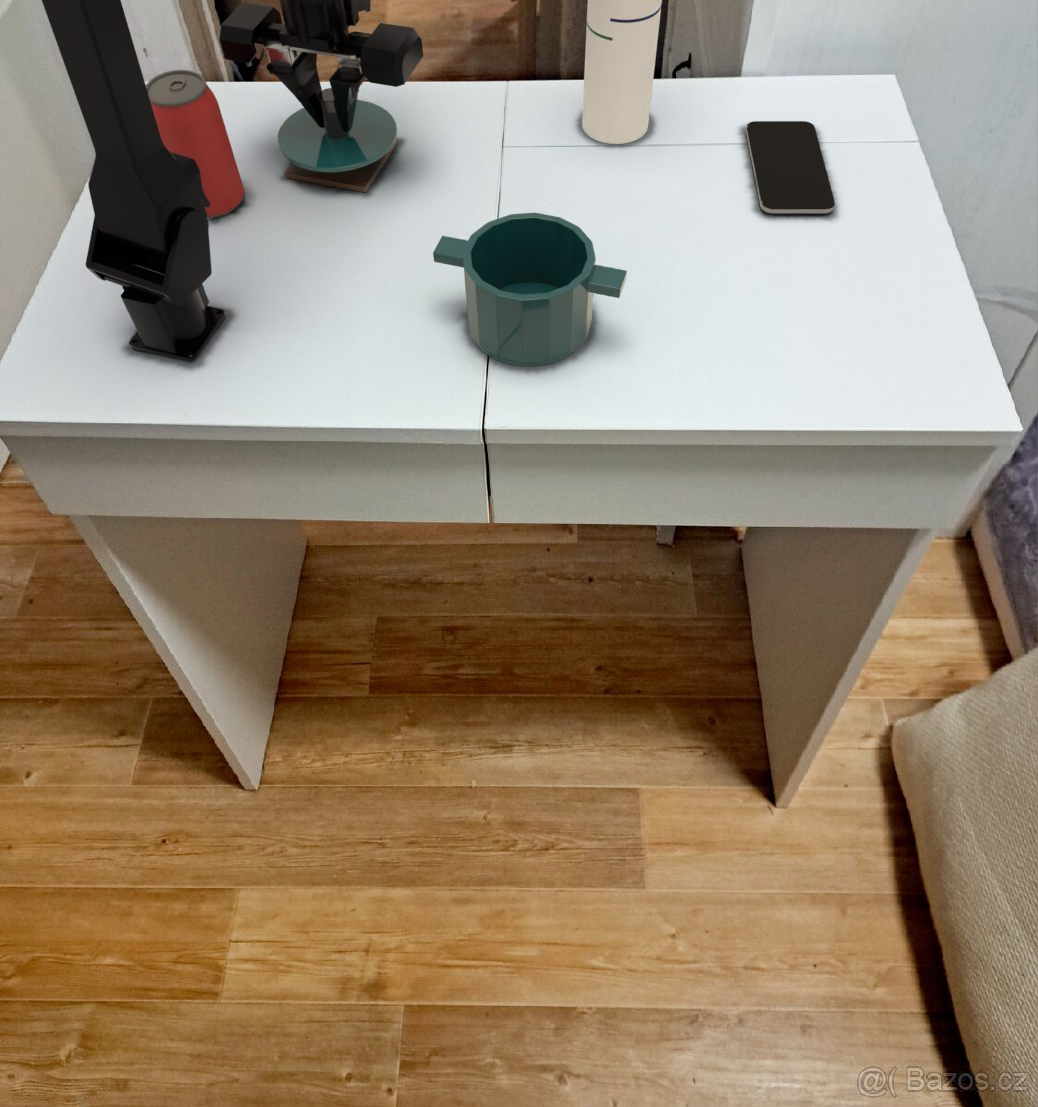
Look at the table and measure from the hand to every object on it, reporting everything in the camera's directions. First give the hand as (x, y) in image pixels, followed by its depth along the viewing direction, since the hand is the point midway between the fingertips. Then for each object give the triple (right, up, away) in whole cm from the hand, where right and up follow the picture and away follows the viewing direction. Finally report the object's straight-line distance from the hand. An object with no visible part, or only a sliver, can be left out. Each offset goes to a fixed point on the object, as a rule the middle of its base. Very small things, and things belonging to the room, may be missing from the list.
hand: (336, 127), depth 94 cm
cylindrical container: (+29, +3, +6) cm, 30 cm away
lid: (0, 0, +1) cm, 1 cm away
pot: (+20, -23, -11) cm, 32 cm away
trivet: (0, -2, +3) cm, 4 cm away
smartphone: (+46, -4, +1) cm, 46 cm away
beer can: (-12, -8, 0) cm, 15 cm away
